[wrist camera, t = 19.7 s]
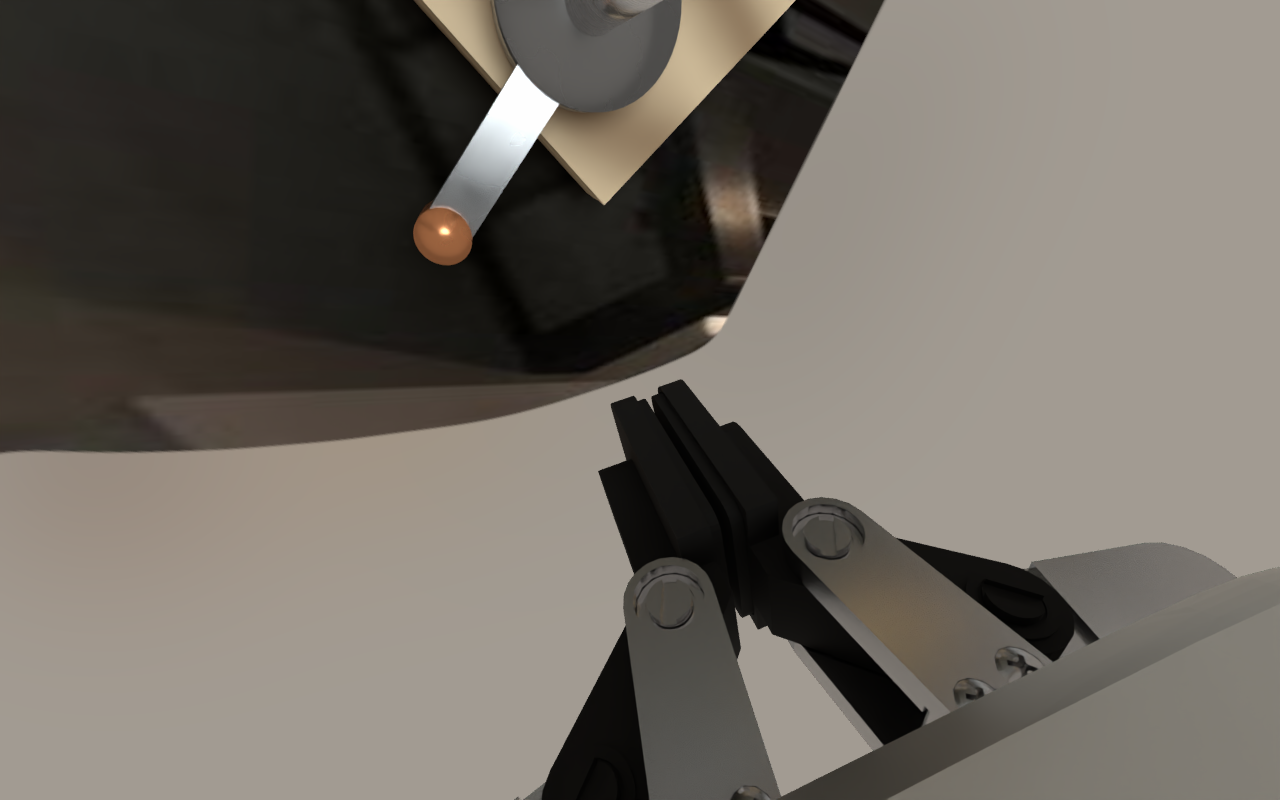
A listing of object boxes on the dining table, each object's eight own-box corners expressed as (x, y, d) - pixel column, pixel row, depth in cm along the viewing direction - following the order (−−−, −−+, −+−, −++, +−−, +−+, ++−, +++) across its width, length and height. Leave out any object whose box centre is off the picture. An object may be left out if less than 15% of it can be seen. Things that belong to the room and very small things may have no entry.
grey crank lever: (355, 195, 23) (282, 248, 14) (559, -166, 19) (638, -415, 10) (499, 287, 27) (513, 372, 18) (690, 8, 23) (828, -58, 14)
